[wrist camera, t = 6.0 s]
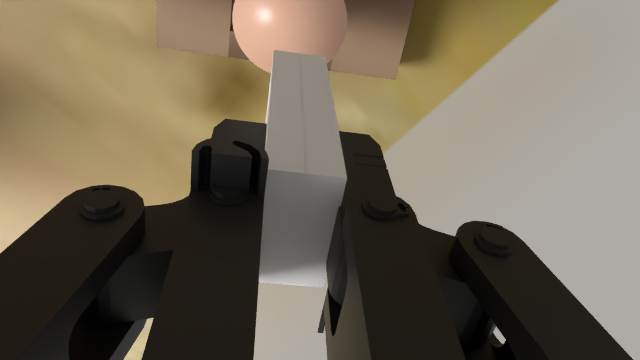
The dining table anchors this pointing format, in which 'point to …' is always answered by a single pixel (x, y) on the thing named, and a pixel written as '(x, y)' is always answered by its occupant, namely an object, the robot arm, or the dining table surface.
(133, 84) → the dining table surface
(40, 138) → the dining table surface
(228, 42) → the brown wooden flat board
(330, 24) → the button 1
